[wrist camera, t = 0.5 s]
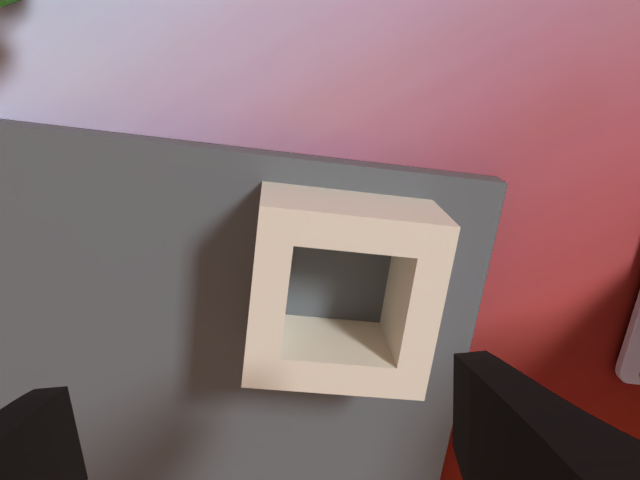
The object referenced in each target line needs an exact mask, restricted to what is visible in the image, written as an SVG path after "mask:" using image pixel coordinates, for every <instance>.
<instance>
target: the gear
mask: <svg viewBox="0 0 640 480" xmlns="http://www.w3.org/2000/svg"><path fill="white" fill-rule="evenodd" d="M17 1H20V0H0V7H4V6H7V5H9V4H12V3H15V2H17Z"/></svg>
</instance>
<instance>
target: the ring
mask: <svg viewBox="0 0 640 480" xmlns="http://www.w3.org/2000/svg"><path fill="white" fill-rule="evenodd" d="M460 228H461V227H460V226H459V225H458V224H457V223H456V222H455V221H454V220H453V219H452V218H451V217H450V216H449V215H448V214H447V213H446V212H445V211H444V210H443V209H441V208H440V207H439V206H438V205H437V204H436V203H435V202H434V201H433V200H429V199H420V198H411V197H402V196H393V195H384V194H375V193H366V192H357V191H348V190H339V189H330V188H321V187H312V186H303V185H294V184H285V183H276V182H267V181H262V187H261V197H260V206H259V216H258V225H257V235H256V245H255V255H254V265H253V275H252V285H251V295H250V305H249V315H248V325H247V335H246V345H245V354H244V364H243V374H242V384H241V388H254V389H268V390H281V391H295V392H308V393H322V394H336V395H349V396H363V397H376V398H390V399H403V400H417V401H424V400H425V395H426V391H427V386H428V381H429V376H430V372H431V367H432V362H433V357H434V352H435V348H436V343H437V338H438V333H439V329H440V324H441V319H442V314H443V309H444V305H445V300H446V295H447V290H448V285H449V281H450V276H451V271H452V266H453V262H454V257H455V252H456V247H457V242H458V238H459V233H460ZM293 246H297V247H307V248H317V249H327V250H337V251H347V252H357V253H367V254H377V255H387V256H391V262H390V267H389V273H388V279H387V285H386V290H385V296H384V302H383V308H382V313H381V319H380V323H377V322H366V321H354V320H343V319H331V318H320V317H308V316H297V315H286V314H285V312H286V304H287V295H288V287H289V279H290V271H291V262H292V254H293Z"/></svg>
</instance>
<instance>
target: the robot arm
mask: <svg viewBox="0 0 640 480" xmlns="http://www.w3.org/2000/svg"><path fill="white" fill-rule="evenodd" d="M615 373H616V375H617V376H618V377H619V378H620V379H621V380H622V381H623V382H624V383H627V384H637V385H640V374H639V373H640V291H639V294H638V297H637V300H636V303H635V306H634V310H633V313H632V316H631V319H630V322H629V325H628V329H627V332H626V335H625V338H624V341H623V344H622V348H621V351H620V354H619V357H618V360H617V364H616V367H615ZM453 448H454V451H455V455H456V458H457V461H458V465H459V468H460V471H461V474H462V477H463V480H640V440H638V439H636V438H634V437H632V436H630V435H628V434H626V433H624V432H622V431H620V430H618V429H616V428H615V427H613V426H611V425H609V424H607V423H605V422H603V421H602V420H600V419H598V418H596V417H594V416H592V415H590V414H589V413H587V412H585V411H583V410H582V409H580V408H578V407H576V406H575V405H573V404H571V403H570V402H568V401H566V400H565V399H563V398H561V397H560V396H558V395H556V394H555V393H553V392H551V391H550V390H548V389H547V388H545V387H543V386H542V385H540V384H539V383H537V382H535V381H534V380H532V379H531V378H529V377H528V376H526V375H524V374H523V373H521V372H520V371H518V370H517V369H515V368H513V367H512V366H510V365H509V364H507V363H506V362H504V361H502V360H501V359H499V358H497V357H496V356H494V355H492V354H490V353H489V352H487V351H479V352H467V353H455V354H454V367H453ZM0 480H88V476H87V471H86V467H85V462H84V458H83V453H82V449H81V444H80V440H79V435H78V431H77V426H76V422H75V418H74V413H73V409H72V404H71V400H70V395H69V391H68V386H63V387H51V388H40V389H33V390H31V391H29V392H28V393H26V394H24V395H22V396H20V397H19V398H17V399H15V400H14V401H12V402H11V403H9V404H8V405H6V406H5V407H3V408H1V409H0Z"/></svg>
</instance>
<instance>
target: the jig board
mask: <svg viewBox="0 0 640 480" xmlns="http://www.w3.org/2000/svg"><path fill="white" fill-rule="evenodd" d="M262 181H267V182H276V183H285V184H294V185H303V186H312V187H321V188H330V189H339V190H348V191H357V192H366V193H375V194H384V195H393V196H402V197H411V198H420V199H429V200H433V201H434V202H435V203H436V204H437V205H438V206H439V207H440V208H441V209H443V210H444V211H445V212H446V213H447V214H448V215H449V216H450V217H451V218H452V219H453V220H454V221H455V222H456V223H457V224H458V225H459V226H460V227H461V228H460V233H459V238H458V242H457V247H456V252H455V257H454V262H453V266H452V271H451V276H450V281H449V285H448V290H447V295H446V300H445V305H444V309H443V314H442V319H441V324H440V329H439V333H438V338H437V343H436V348H435V352H434V357H433V362H432V367H431V372H430V376H429V381H428V386H427V391H426V395H425V400H424V401H417V400H403V399H390V398H376V397H363V396H349V395H336V394H322V393H308V392H295V391H281V390H268V389H254V388H241V384H242V374H243V364H244V354H245V345H246V335H247V325H248V315H249V305H250V295H251V285H252V275H253V265H254V255H255V245H256V235H257V225H258V216H259V206H260V197H261V187H262ZM507 185H508V183H506V182H505V181H503V180H501V179H500V178H498V177H495V176H486V175H478V174H469V173H460V172H452V171H443V170H435V169H426V168H417V167H409V166H400V165H392V164H383V163H375V162H366V161H357V160H349V159H340V158H332V157H323V156H315V155H306V154H297V153H289V152H280V151H272V150H263V149H254V148H246V147H237V146H229V145H220V144H212V143H203V142H194V141H186V140H177V139H169V138H160V137H151V136H143V135H134V134H126V133H117V132H109V131H100V130H91V129H83V128H74V127H66V126H57V125H49V124H40V123H31V122H23V121H14V120H6V119H0V409H1V408H3V407H5V406H6V405H8V404H9V403H11V402H12V401H14V400H15V399H17V398H19V397H20V396H22V395H24V394H26V393H28V392H29V391H31V390H33V389H40V388H51V387H63V386H68V391H69V395H70V400H71V404H72V409H73V413H74V418H75V422H76V426H77V431H78V435H79V440H80V444H81V449H82V453H83V458H84V462H85V467H86V471H87V476H88V480H440V477H441V473H442V469H443V464H444V460H445V456H446V451H447V447H448V442H449V438H450V434H451V429H452V425H453V367H454V354H455V353H467V352H469V351H470V346H471V342H472V338H473V333H474V329H475V324H476V320H477V316H478V311H479V307H480V303H481V298H482V294H483V289H484V285H485V281H486V276H487V272H488V268H489V263H490V259H491V254H492V250H493V246H494V241H495V237H496V233H497V228H498V224H499V220H500V215H501V211H502V206H503V202H504V198H505V193H506V189H507ZM390 262H391V256H387V255H377V254H367V253H357V252H347V251H337V250H327V249H317V248H307V247H297V246H293V254H292V262H291V271H290V279H289V287H288V295H287V304H286V312H285V314H286V315H297V316H308V317H320V318H331V319H343V320H354V321H366V322H377V323H380V319H381V313H382V308H383V302H384V296H385V290H386V285H387V279H388V273H389V267H390Z"/></svg>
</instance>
